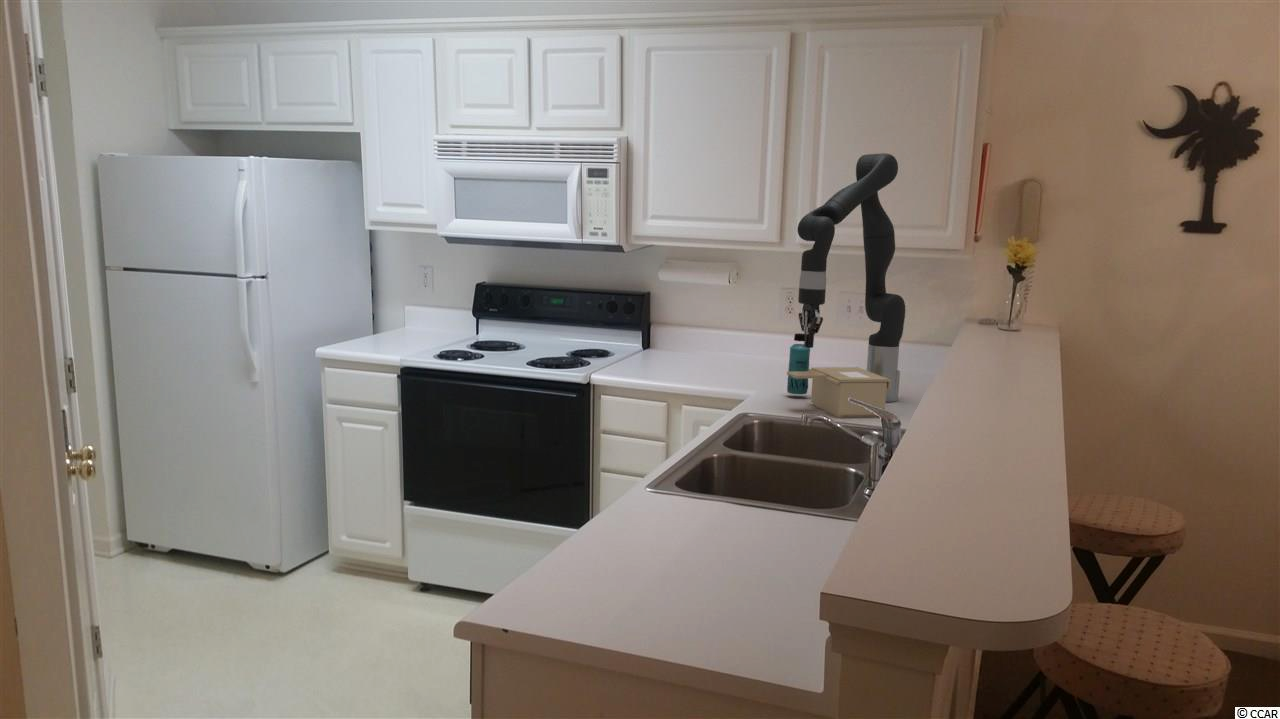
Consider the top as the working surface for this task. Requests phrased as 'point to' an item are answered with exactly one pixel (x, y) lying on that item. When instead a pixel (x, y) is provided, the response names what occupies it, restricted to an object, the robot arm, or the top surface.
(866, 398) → the mailer box
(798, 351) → the beverage bottle
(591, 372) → the top surface
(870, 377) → the lid
